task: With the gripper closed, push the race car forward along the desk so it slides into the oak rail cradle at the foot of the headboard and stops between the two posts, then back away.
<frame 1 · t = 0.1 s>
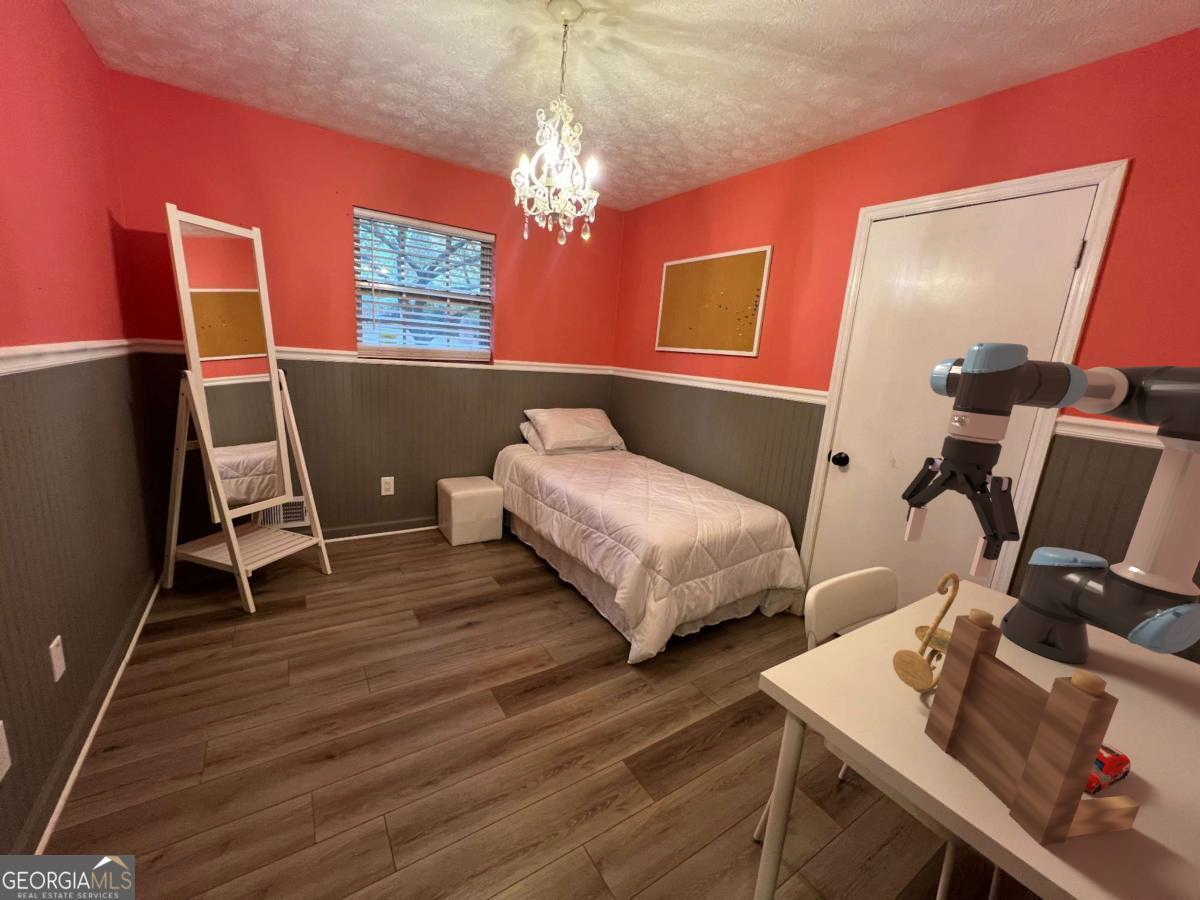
hand: (942, 556, 80), 28 cm above the table, fingers open, 13 cm apart
wall sconce: (924, 693, 87), on the table
headboard: (1016, 777, 69), on the table
race car: (1088, 773, 72), on the table
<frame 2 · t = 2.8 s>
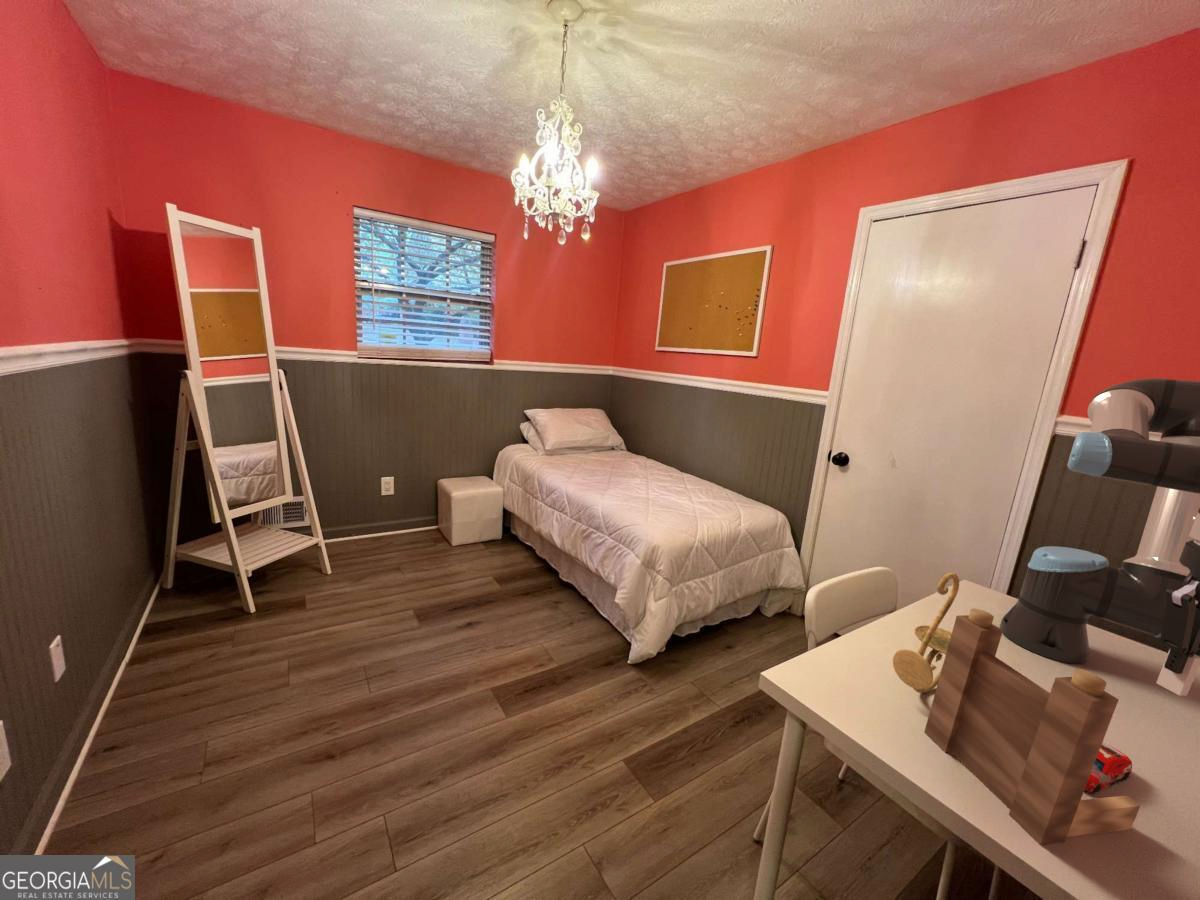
hand: (1171, 688, 71), 14 cm above the table, fingers closed
nothing on the table moved.
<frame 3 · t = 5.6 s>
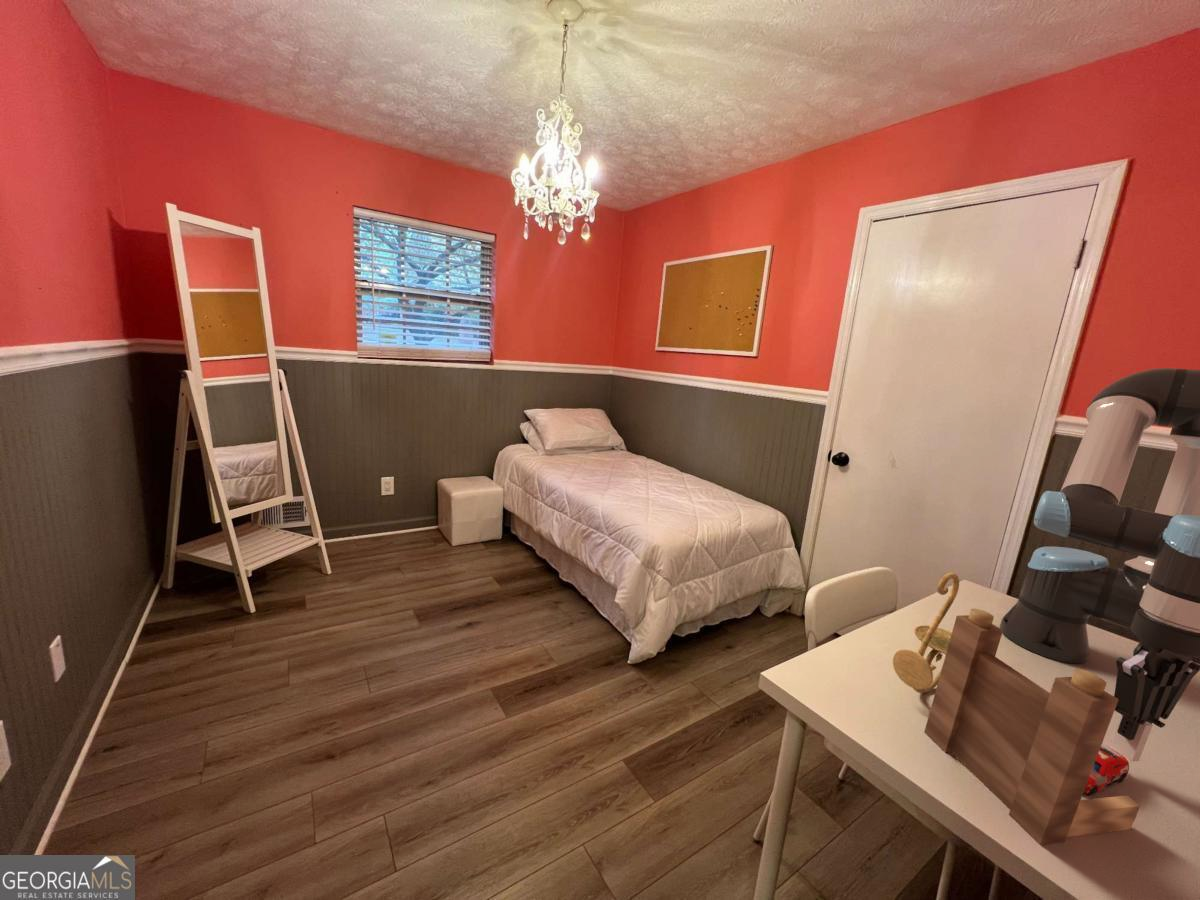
hand: (1124, 753, 72), 3 cm above the table, fingers closed
race car: (1085, 775, 71), on the table, touching gripper
everything else where it was.
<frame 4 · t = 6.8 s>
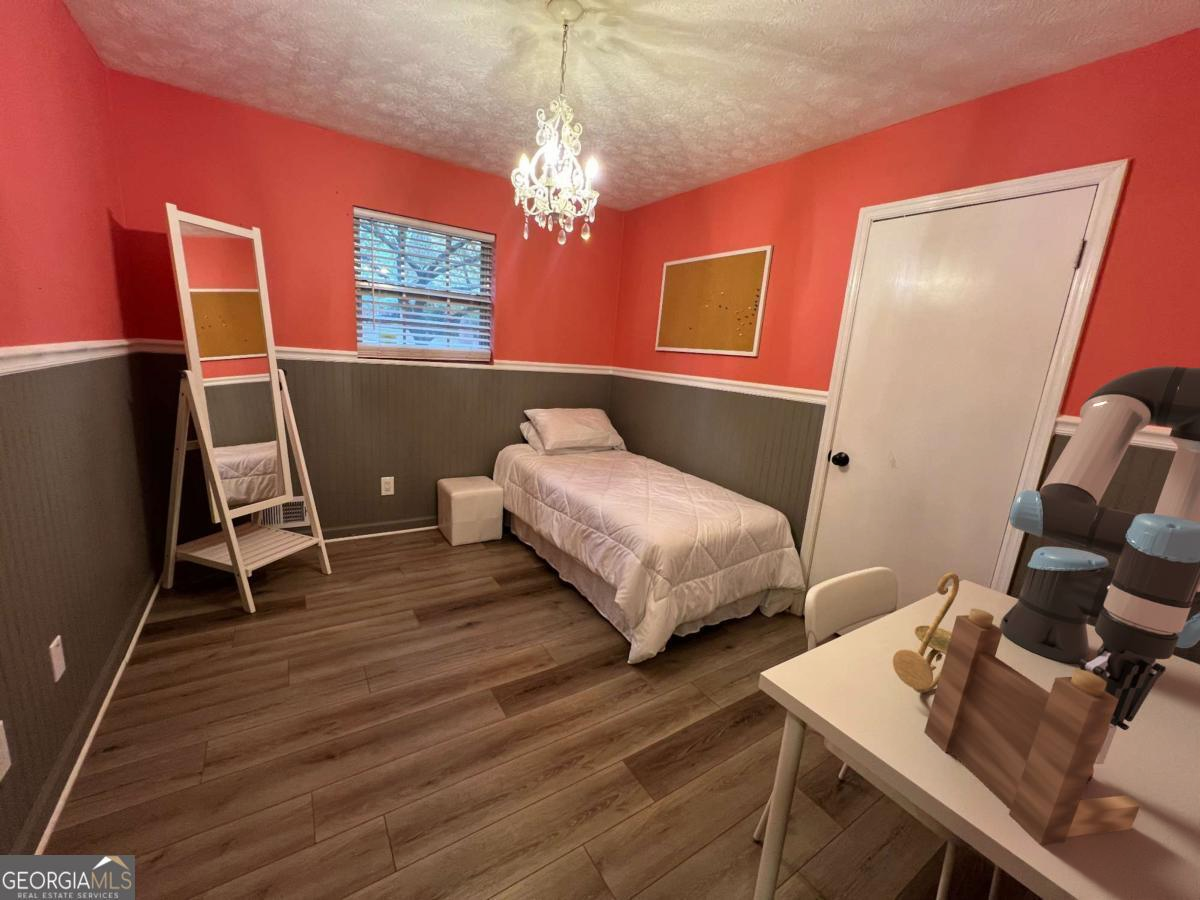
hand: (1089, 756, 71), 3 cm above the table, fingers closed
race car: (1049, 778, 70), on the table, touching gripper
everything else where it was.
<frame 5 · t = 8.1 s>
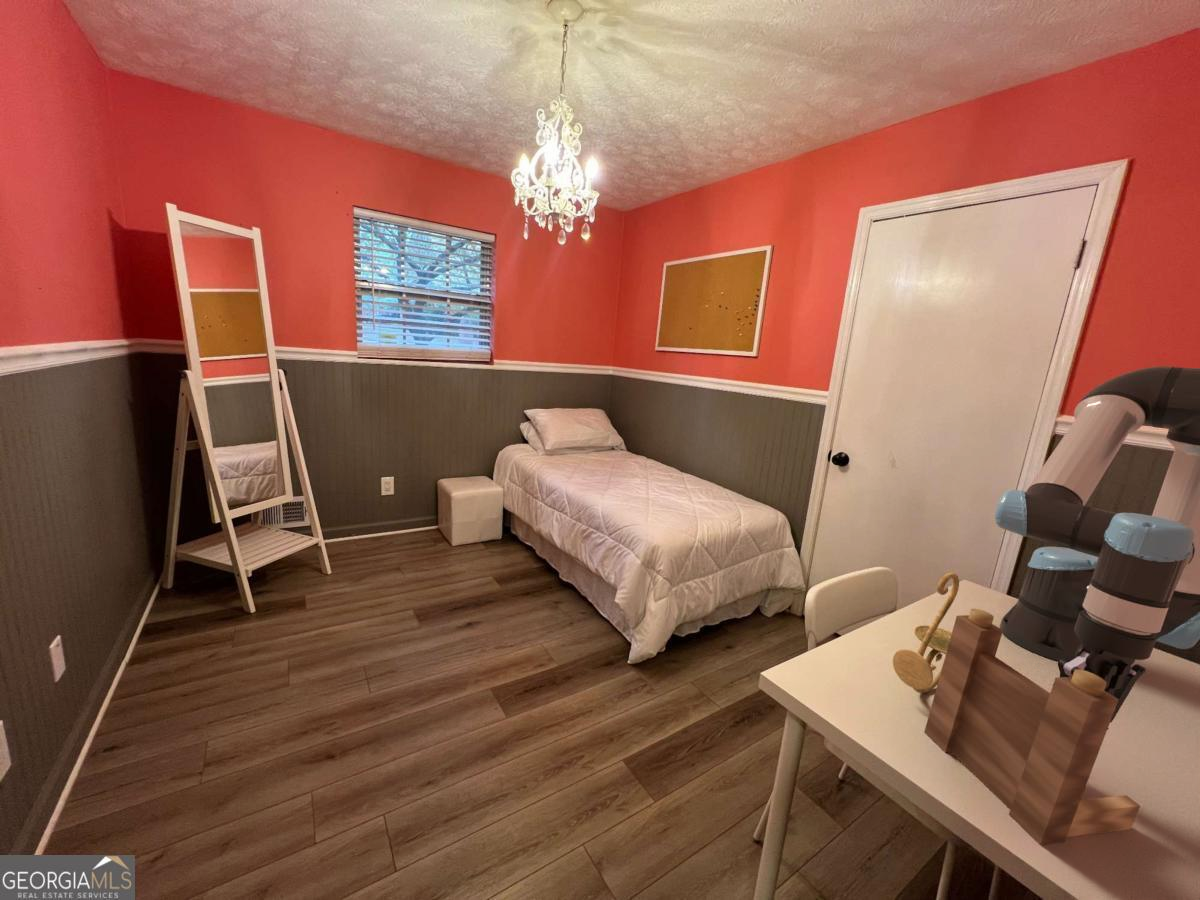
hand: (1068, 757, 70), 3 cm above the table, fingers closed
race car: (1029, 780, 69), on the table, touching gripper, headboard
everything else where it was.
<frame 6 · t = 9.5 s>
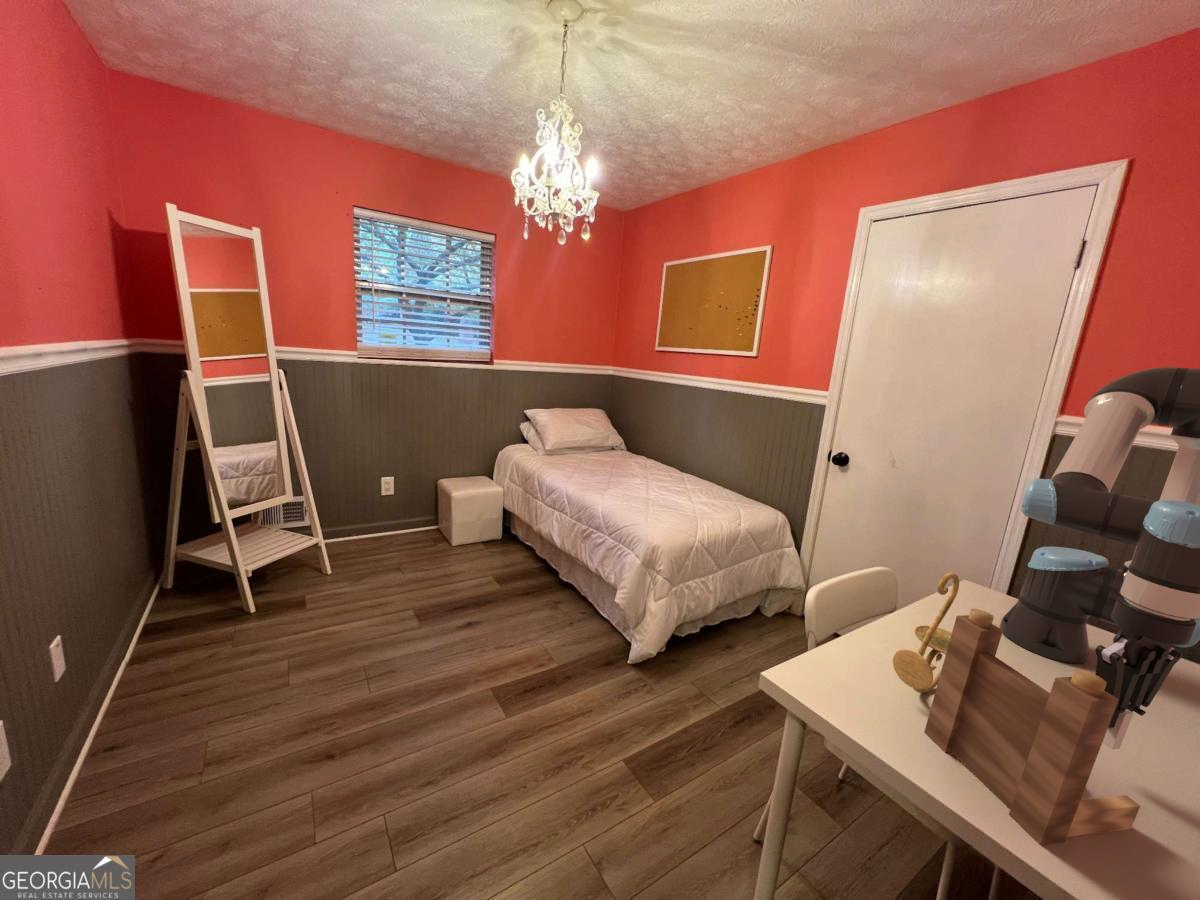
hand: (1105, 741, 71), 5 cm above the table, fingers closed
race car: (1026, 779, 70), on the table
everything else where it was.
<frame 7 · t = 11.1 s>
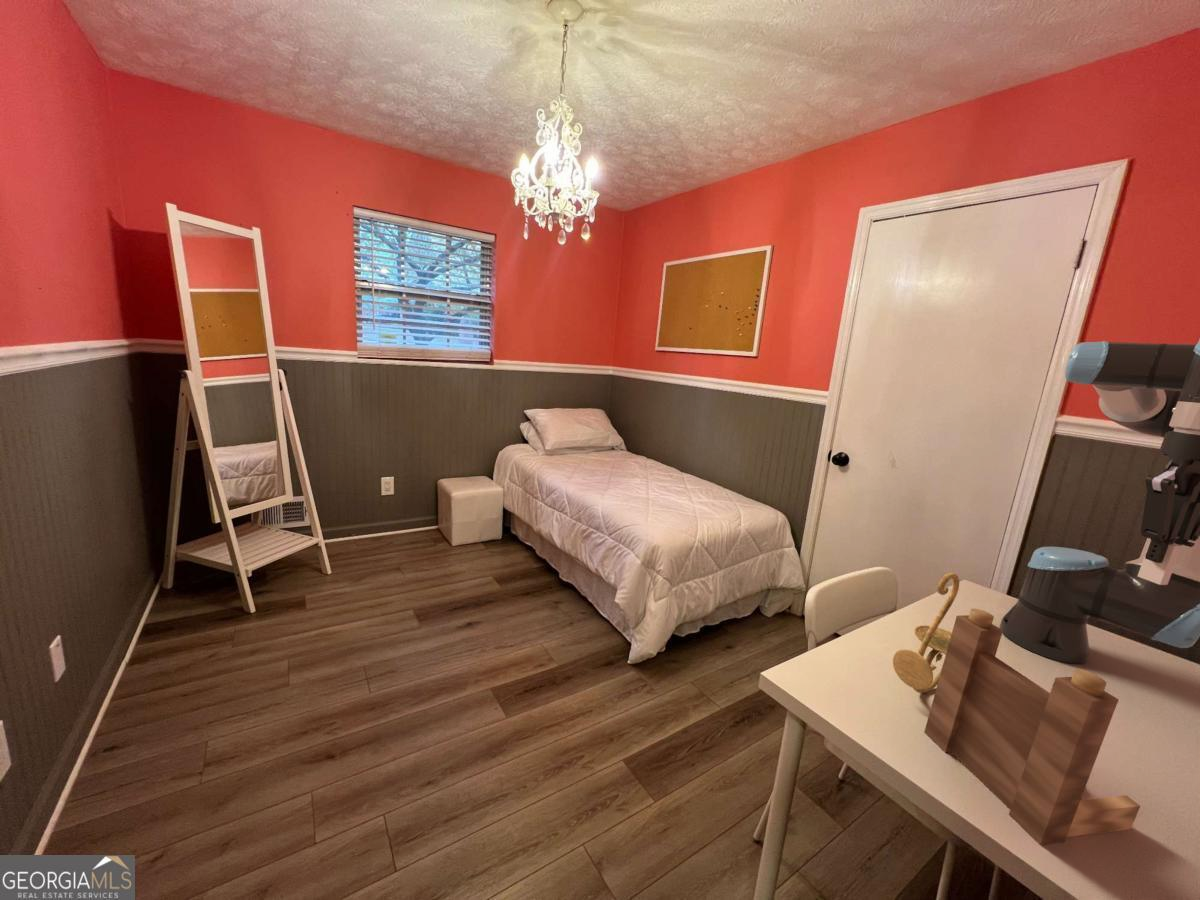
hand: (1152, 580, 72), 30 cm above the table, fingers closed
nothing on the table moved.
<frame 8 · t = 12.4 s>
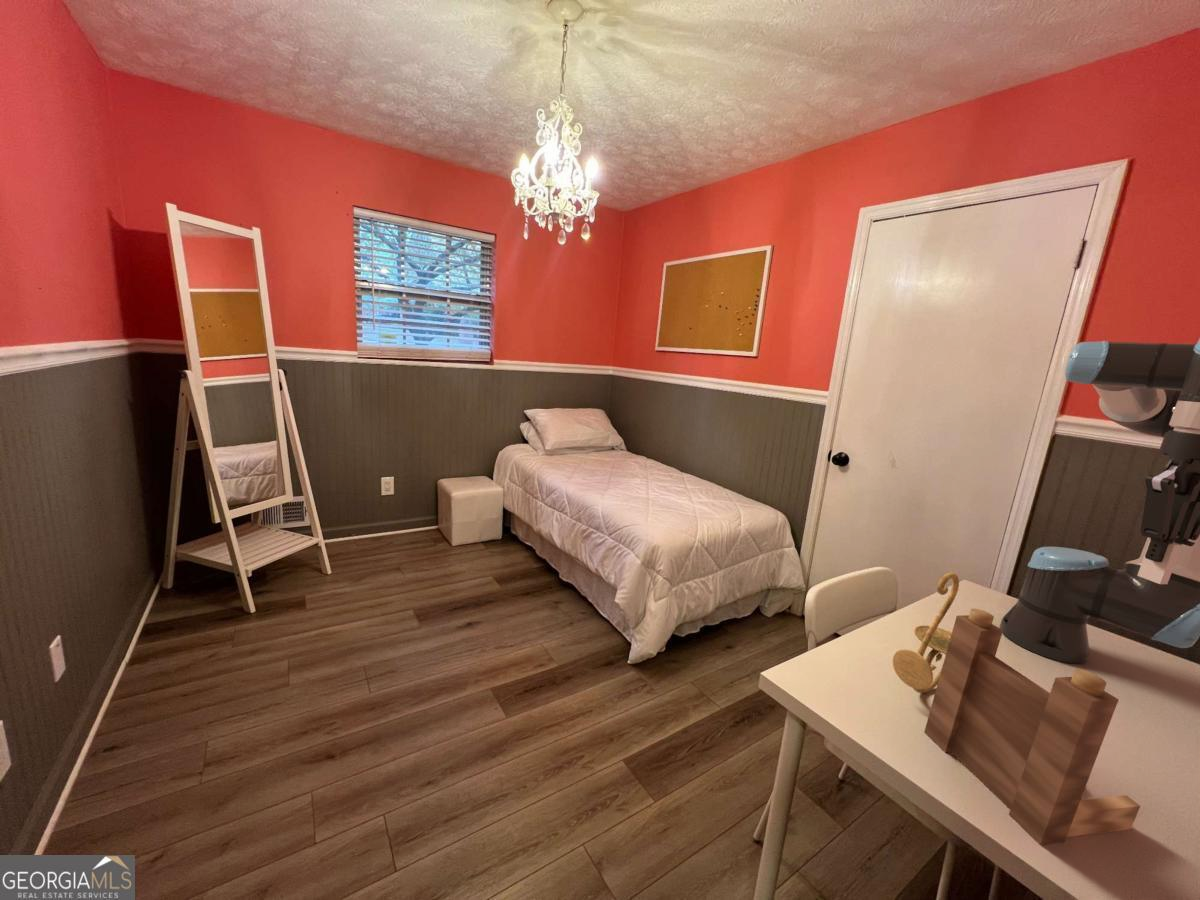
hand: (1152, 579, 72), 30 cm above the table, fingers closed
nothing on the table moved.
at the end: race car inside the target area on the headboard (3.0 cm from its centre), point -0.5 cm above the headboard's base; race car on the table; the gripper is holding nothing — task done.
